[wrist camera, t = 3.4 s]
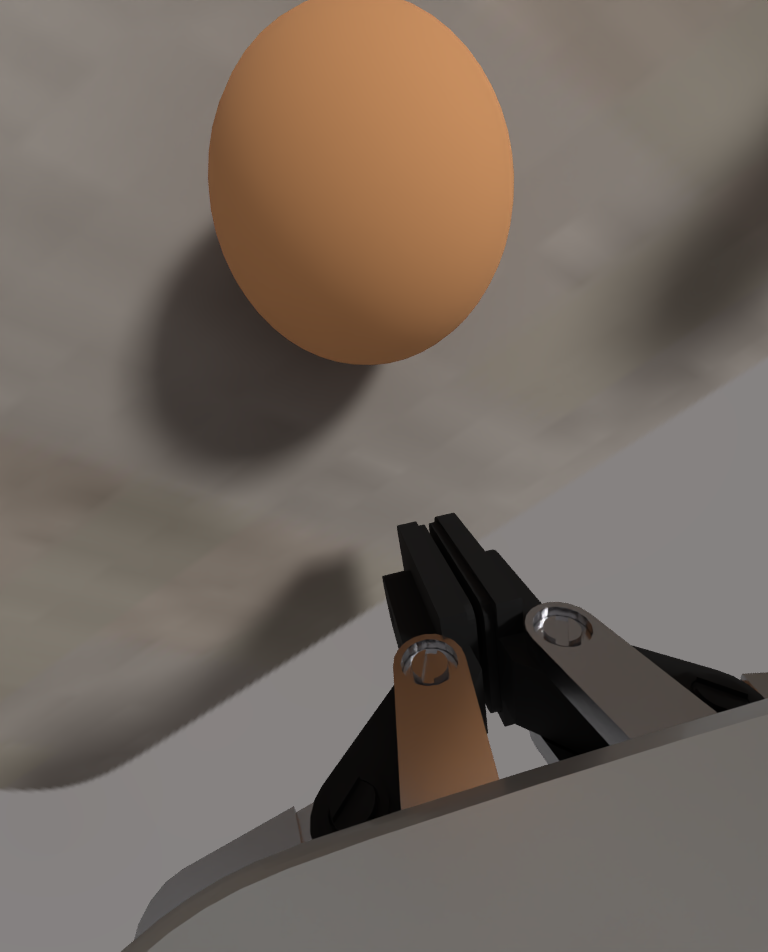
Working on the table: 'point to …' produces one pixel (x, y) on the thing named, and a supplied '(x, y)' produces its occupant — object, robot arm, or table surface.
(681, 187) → the table surface
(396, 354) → the ball
